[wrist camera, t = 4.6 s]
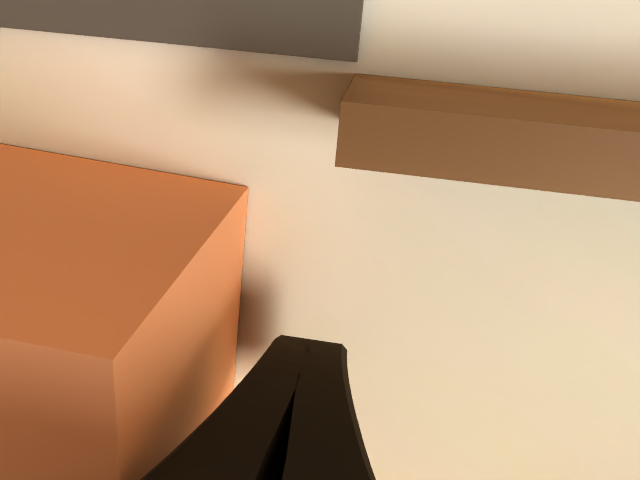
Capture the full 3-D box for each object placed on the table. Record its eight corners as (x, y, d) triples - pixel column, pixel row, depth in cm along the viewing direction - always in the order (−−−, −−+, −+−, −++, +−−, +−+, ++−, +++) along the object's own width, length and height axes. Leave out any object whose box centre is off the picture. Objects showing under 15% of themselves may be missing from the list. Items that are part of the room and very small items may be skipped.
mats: (512, 648, 14) (514, 656, 14) (39, 556, 15) (34, 563, 15) (909, -253, 6) (926, -260, 6) (-182, -297, 7) (-197, -303, 7)
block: (230, 425, 12) (131, 679, 8) (-10, 376, 12) (-241, 590, 8) (248, 187, 9) (112, 360, 5) (-58, 134, 10) (-444, 248, 5)
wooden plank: (867, 608, 12) (979, 752, 10) (-117, 434, 14) (-216, 518, 12) (1281, 166, 7) (1689, 242, 5) (-289, 8, 9) (-508, 12, 7)
